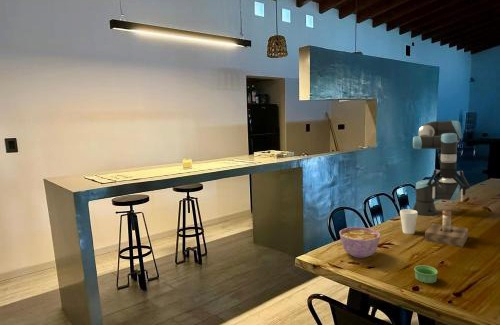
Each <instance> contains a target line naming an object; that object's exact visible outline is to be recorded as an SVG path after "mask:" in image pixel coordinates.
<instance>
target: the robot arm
mask: <svg viewBox="0 0 500 325" xmlns="http://www.w3.org/2000/svg"><path fill="white" fill-rule="evenodd" d="M417 134H418V135H417V136H413V137H412V148H413V149H415V150H440V167H439V168H440V169H436V168H435V169H434V170H433V174H432V175H431V176H430V179H423V180H419V181H417V182H416V183H415V202H414V205H413V207H412V210H415V211H417V212H418V215H419V216H430V217H431V216H436V215H437V214H438V213H437V211H438V210H437V207H436V205H435V200H442V201H457V200H458V199H459V196H460V202H463V201H464V196H465V195H466V194H467V193H466V191H467V190H469V189H470V188H471V186H470V184H469V182H468V180H467V178H466V177H465V174H464V171H463V170H457V159H458V158H457V154H458V153H457V152H458V151H457V150H458V143H459V142H460V139H462V138H463V135H462V127H461V122H460V121H458V120H442V121H441V120H440V121H437V120H436V121H430V122H426V123H425V124H422V125H421V126H420V127H419V129H418V133H417ZM437 174H440V175H439V177H438V178H437V179H436V180H434V179H435V177H436V176H437ZM457 174H458V176H460V179H461V180H462V181H461V180H460V179H459V178H458V176H457ZM462 182H463V183H462Z"/></svg>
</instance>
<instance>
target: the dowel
mask: <svg viewBox="0 0 500 325" xmlns="http://www.w3.org/2000/svg"><path fill="white" fill-rule="evenodd" d="M451 222H452V211H451V210H446V209H445V210H442V223H441V225H442V231H444V232H450V233H451V226H452V223H451Z"/></svg>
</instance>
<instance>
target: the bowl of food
mask: <svg viewBox="0 0 500 325" xmlns="http://www.w3.org/2000/svg"><path fill="white" fill-rule="evenodd" d="M339 236H340V240H341V244H342V247H343V250H345V252H346V253H347V254H348V255H350V256H352V257H354V258H357V257H358V259H365V258H368V257H369V256H372V255H375V253H376V252H377V248H378V246H379V242H380V238H381V233H380V232H379V231H377V230H376V229H372V228H370V227H369V228H368V227H362V226H352V227H351V226H350V227H346V228H343V229H341V230H339Z"/></svg>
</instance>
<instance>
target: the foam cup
mask: <svg viewBox="0 0 500 325" xmlns="http://www.w3.org/2000/svg"><path fill="white" fill-rule="evenodd" d="M399 215H400V222H401V230H402V233H403V234H406V235H414V234H415V232H416V226H417V220H418V212H417V211H415V210H413V209H408V208H407V209H406V208H404V209H401V210H400V211H399Z"/></svg>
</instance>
